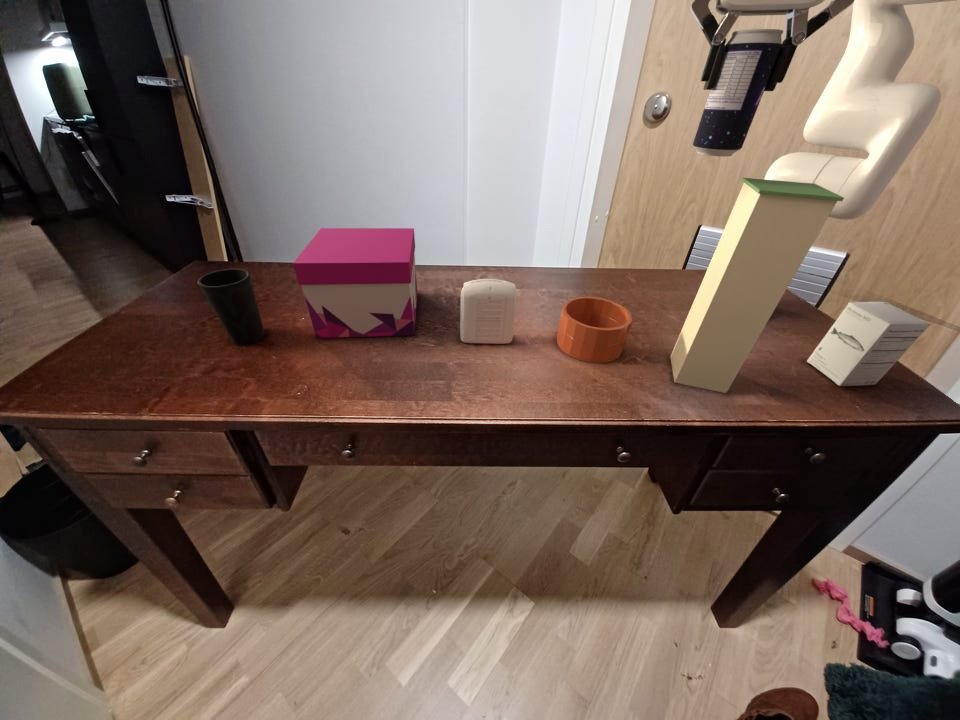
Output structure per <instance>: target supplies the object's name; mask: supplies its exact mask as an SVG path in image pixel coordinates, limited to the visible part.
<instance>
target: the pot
mask: <svg viewBox="0 0 960 720" xmlns="http://www.w3.org/2000/svg"><path fill="white" fill-rule="evenodd" d="M632 323H633V316H632V314H631V312H630V310H628V309H627V308H626V307H625V306H624V305H622V304H619V303H617V302H616V301H612V300H610V299H608V298H602V297H598V296H578V297H573V298H570V299H568V300H567V301H565V302H564V303H563V305H562V307H561V312H560V317H559V323H558V328H557V333H556V343H557V346H558V347H559V349H560V350H561V351H562V352H564V353H565V354H566V355H568V356H570V357H572V358H573V359H576V360H579V361H583V362H586V363H587V362H588V363H596V364H601V363H609V362H612V361H615V360H616V359H618V358H619V357H620V356H621V355H622V353H623V351H624V347H625V344H626V341H627V338H628V335H629V332H630V330H631V326H632Z"/></svg>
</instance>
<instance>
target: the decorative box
mask: <svg viewBox="0 0 960 720" xmlns="http://www.w3.org/2000/svg"><path fill="white" fill-rule="evenodd" d="M415 238H416V236H415V228H414V227H413V228H412V227H409V228H408V227H406V228H405V227H402V228H401V227H396V228H395V227H391V228H390V227H328V228H327V227H321V228H320V229H319V230H318V231H317V233H316V234H315V235H314V236H313V237H312V239H311V240H310V241H309V242H308V244H307V245H306V246H305V247H304V249H303V250H302V251H301V252H300V254H299V255H298V256H297V257H296V258H295V260H294V261H293V262H292V266H293V269H294V273H295V276H296V279H297V283H298V286H301V289H302V292H303V296H304V300H305V302H306V306H307V307H306V308H307V310H308V314H309V316H310V322H311V325H312V328H313V331H314V335H315V338H316V339H325V338H327V339H328V338H329V339H330V338H331V339H332V338H359V337H360V338H361V337H362V338H363V337H398V336H401V337H403V336H415V331H416V330H415V328H416V316H417V305H418V304H417V303H418V282H417V281H418V280H417V268H416V258H415V257H416V256H415V253H416V252H415V251H416V239H415Z"/></svg>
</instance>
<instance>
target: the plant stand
mask: <svg viewBox="0 0 960 720" xmlns="http://www.w3.org/2000/svg"><path fill="white" fill-rule="evenodd" d="M836 203H837V201H834V200H823V199H812V198H802V197H791V196H780V195H769V194H758V193H757V192H756V191H754V190H753V189H752V188H751V187H749V186H748V185H747V184H745V183H744V182H743V184H742V187H741V188H740V191H739V194H738V196H737V199H736V201H735V204H734V205H733V208H732V210H731V213H730V214H729V217H728V219H727V221H726V224H725V227H724V229H723V231H722V234H721V237H720V238H719V240H718V243H717V246H716V247H715V251H714V252H713V255H712V258H711V260H710V261H709V265H708V267H707V269H706V272H705V274H704V276H703V279H702V281H701V283H700V285H699V288H698V291H697V293H696V295H695V298H694V300H693V302H692V305H691V307H690V309H689V311H688V314H687V317H686V319H685V321H684V323H683V326H682V328H681V331H680V332H679V335H678V338H677V340H676V343H675V344H674V347H673V350H672V352H671V354H670V357H669V358H670V362H671V370H672V377H673V382H674V384H675V383H676V384H680V385H685V386H690V387H694V388H699V389H704V390H707V391H708V390H709V391H713V392H716V393H717V392H718V393H722V394H727V393H728V391H729V389H730V388H731V386H732V384H733V382H734V380H735V379H736V377H737V375H738V374H739V372H740V371H741V369H742V367H743V365H744V363H745V362H746V360H747V358H748V357H749V355H750V353H751V352H752V350H753V348H754V346H755V344H756V343H757V341H758V339H759V338H760V336H761V334H762V332H763V330H765V327H766V325H768V322H769V321H770V319H771V317H772V315H773V314H774V311H775V310H776V308H777V306H778V305H779V303H780V301H781V300H782V298H783V296H784V294H785V293H786V291H787V289H788V288H789V286H790V284H791V282H792V280H793V279H794V277H795V275H796V274H797V272H798V270H799V269H800V266H801V265H802V263H803V261H804V259H805V258H806V256H807V255H808V253H809V252H810V250H811V248H812V246H813V244H814V243H815V241H816V239H817V238H818V236H819V234H820V233H821V231H822V229H823V228H824V225H825V223H826V222H827V220H828V218H830V217H829V215H830V213H831V211H832V210H833V208H834V206H835V204H836Z"/></svg>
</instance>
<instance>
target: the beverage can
mask: <svg viewBox="0 0 960 720" xmlns="http://www.w3.org/2000/svg"><path fill="white" fill-rule="evenodd" d="M782 34H784V29H778V28H752V29H749V28H748V29H741V30H740V29H739V30H735V31H733V32H732V33H731V37H730V39H729V40H728V41H727V42H726V43H725V45H726V46H725V47H726V51H725V54H724V57H723V60H722V64H721V67H720V70H719V73H718V76H717V79H716V82H715V85H714V88H712V89H711V90H709V92H708V95H707V98H706V101H705V105H704V108H703V111H702V115H701V117H700V121H699V123H698V126H697V130H696V133H695V136H694V139H693V143H692V145H693V147H694V149H695V151H696V154H698V155H702V156H708V157H724V158H725V157H732V156H733V154H735V153H737V152H739V151H740V150H741V149H742V148H743V146H744V143H745V142H746V138H747V135H748V134H749V130H750V128H751V126H752V123H753V121H754V118H755V116H756V113H757V111H758V109H759V106H760V103H761V100H762V98H763V95H764V92H765V91H764V90H765V88H766V85H767V83H768V80H769V78H770V75H771V72H772V70H773V67H774V65H775V62H776V60H777V57H778V55H779V52H780V50H781V47H782V42H783V40H782V36H783V35H782Z"/></svg>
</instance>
